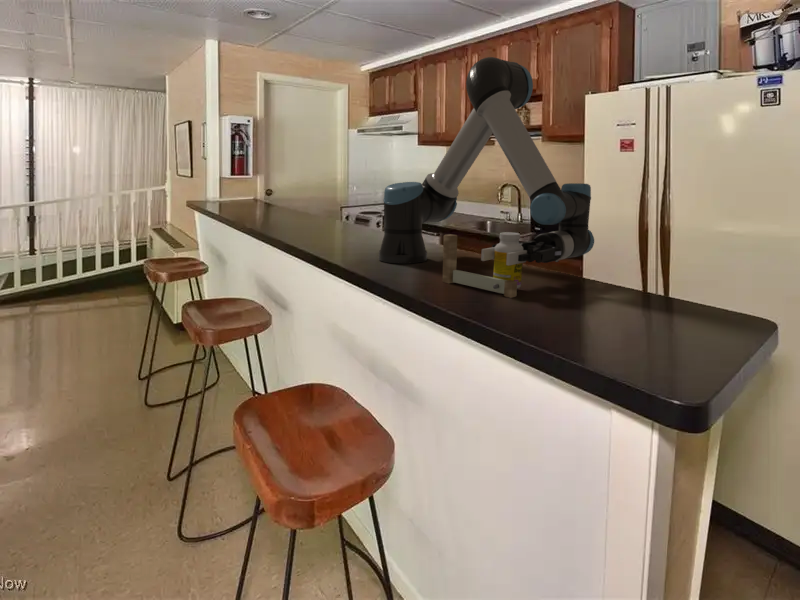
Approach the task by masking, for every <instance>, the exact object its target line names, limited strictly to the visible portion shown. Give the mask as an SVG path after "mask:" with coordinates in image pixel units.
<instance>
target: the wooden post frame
mask: <svg viewBox="0 0 800 600" xmlns="http://www.w3.org/2000/svg"><path fill="white" fill-rule="evenodd" d="M442 244H443V247H442V250H443V251H442V283H445V284H449V285H450V284H454V283H455V282H453V270H457V260H458V259H457V257H458V256H457V255H458V252H457V251H458V235H457V234H450V233H448V234H444V235H443V243H442ZM517 291H518V289H517V281H512V280H508V281H505V286H504V294H503V297H506V298H510V299H511V298H515V297H517V294H518V292H517Z"/></svg>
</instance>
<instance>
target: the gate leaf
mask: <svg viewBox="0 0 800 600" xmlns="http://www.w3.org/2000/svg"><path fill="white" fill-rule="evenodd" d="M505 281H508V280H503V279H498V278H494V277H493V276H490V275H489V276H488V275H485V274H484V275H483V274H479V273H474V272H468V271H465V270H464V271H463V270H460V269H456V270H453V282H454V283H456V284H459V285H465V286H467V287H468V286H469V287H473V288H477V289H480V290H485V291H489V292H495V293H498V294H503V295H504V286H505Z"/></svg>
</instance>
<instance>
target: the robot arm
mask: <svg viewBox="0 0 800 600" xmlns="http://www.w3.org/2000/svg"><path fill="white" fill-rule="evenodd" d="M465 86H466V87H465V88H466V93H467V96H468V99H469V102H470V104H471V105H472V107H473V108H472V109H471V111H470V113H469V115H468V117H467V119H466V120H465V122H464V123H463V125H462V127H461V128H460V130H459V131H458V133H457V134H456V137H455V138H454V140H453V141H452V143H451V145H450V147H449V148H448V149H447V151H446V153H445V154H444V156H443V158H442V160H441V161H440V163H439V164H438V166H437V168H436V169H435V171H434V172H432V173H428V174H427V175H426V177H425V178H424V180H423V181H422V183H421V182H420V181H405V182H397V183H396V182H395V183H392V184H388V185H387V186H386V187H385V189H384V191H383V192H384V194H383V195H384V196H383V224H384V225H383V228H384V231H383V232H384V233H383V238H382V242H381V245H380V250H379V251H378V261H379V262H380V261H381V262H384V263H387V264H388V263H390V264H416V263H417V264H418V263H423V262H426V261H427V260H428V251H427V250H426V246H425V244H426V243H425V241H424V238H423V224H426V223H438V222H441V221H444V220H447V219H449V218H450V217H452V215H453V214H454V213H455V211H456V209H457V207H458V206H457V205H458V202H457V200H458V197H459V194H460V193H459V189H458V187H459V186H460V184H461V183H462V181H463V180H464V178H465V177H466V176H467V173H468V171H469V170H470V169H471V167H472V166H473V164H474V163H475V161H476V159H477V158H478V157H479V155H480V153H481V152H482V151H483V149H484V148H485V146H486V144H487V142H488V141H489V139H491V137H492V135H493V136H494V138H495V140H496V141H497V143H498V145H499V147H500V148H501V150H502V152H503V153H504V155H505V157H506V159H507V161H508V162H509V165H510V167H512V170H513V171H514V173H515V175H516V177H517V178H518V180H519V182H520V183H521V185H522V187H523V189H524V191H525V192H526V194H527V196H528V198H529V200H530V202H531V203H530V207H529V208H530V209H529V210H530V216H531V218H532V219H533V221H535V222H536V223H538V224H540V225H546V226H547V225H549V226H551V225H553V226H554V225H557V224H558V230H555V231H554V230H553V231H549V232H543V233H540V234H538V235H536V236H535V237H534V239H532V240H529V241H525V242H519V244H520V245H522V247H523V250H522V251H516V252H511V253H507V260H506V265H514V264H519V263H523V264H524V263H526V262H528V263H532V262H534V261H535V263H537V264H541V263H544V264H548V263H552V262H555V263H558V262H559V261H561V260H565V259H569V258H571V259H572V258H578V257H581V256H584V255H586V254H588V253H589V252H591V250H592V249H593V247H594V244H595V237H594V234H593V232H591V231H592V230H590V229H589V222H590V221H589V219H590V212H591V211H590V210H591V200H592V187H591V185H590V184H589V183H584V182H583V183H578V182H577V183H575V182H574V183H573V182H572V183H564V184H562V185H561V187H560V185H559V184H558V181H557V180H556V178H555V177H554V175H553V173H552V171H551V169H550V168H549V166H548V164H547V163H546V161H545V159H544V158H543V156H542V153H541V152H540V151H539V148H538V147H537V145H536V144H535V142H534V140H533V138H532V137H531V135H530V133H529V131H528V129H527V127H526V126H525V125H524V122H523V121H522V119H521V117H520V115H519V113H518V112H517V110H518V109H520V108H522V107H524V106H525V105H526V104H527V103H528V102H529V100H530V99H531V98H532V97H531V96H532V94H533V89H534V82H533V78H532V74H531V72H530V70H528V68H526V67H525V66H523V65H522V64H519V63H518V62H515V61H509V60H505V59H500V58H497V57H494V56H493V57H492V56H489V57H483V58H481V59H479V60H478V61H476V62H475V63H474V64H473V65H472V66H471V68H470V70H469V71H468V73H467V76H466V81H465ZM497 244H498V243H496V244H492V245H491V247H487V248H481V257H480V261H482V262H485V261H489V260H494V253H495V246H496V245H497Z"/></svg>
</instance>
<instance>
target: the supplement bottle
mask: <svg viewBox="0 0 800 600" xmlns="http://www.w3.org/2000/svg"><path fill="white" fill-rule="evenodd" d="M520 239H521V233H519V232H511V231H506V232H505V231H503V232H500V233H499V243H496V244H497V245H496V246H495V253H494V259H493V273H492V274H493V275H492V277H494V278H498V279H503V280H512V281H517V290H518V289H520V288H521V286H522V280H523V279H522V275H523V264H524V263H519V264H514V265H506V260H507V253H511V252H516V251H522V250H523V247H522V245H520V244H519V243H520Z"/></svg>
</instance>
